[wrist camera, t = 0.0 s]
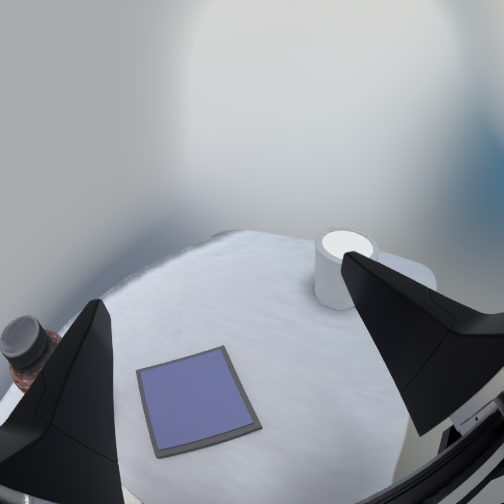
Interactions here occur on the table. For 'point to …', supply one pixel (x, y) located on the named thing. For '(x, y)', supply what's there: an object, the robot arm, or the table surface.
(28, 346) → the supplement bottle
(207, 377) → the ink pad
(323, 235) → the white short cylinder
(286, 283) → the table surface
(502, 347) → the robot arm
